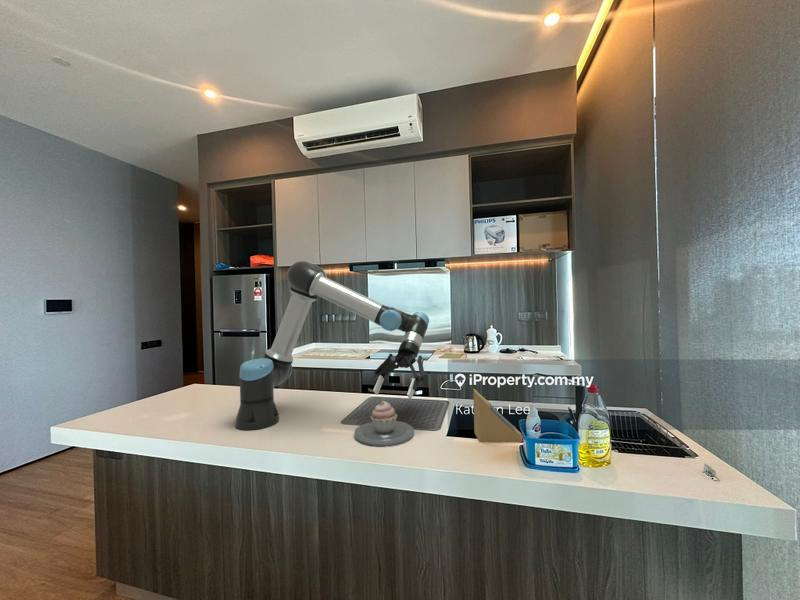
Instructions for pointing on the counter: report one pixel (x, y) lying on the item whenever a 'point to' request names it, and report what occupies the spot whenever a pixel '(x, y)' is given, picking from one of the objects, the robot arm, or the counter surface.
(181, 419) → the counter surface
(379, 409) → the cupcake
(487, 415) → the sandwich container
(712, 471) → the small metal piece
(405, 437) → the slate plate
